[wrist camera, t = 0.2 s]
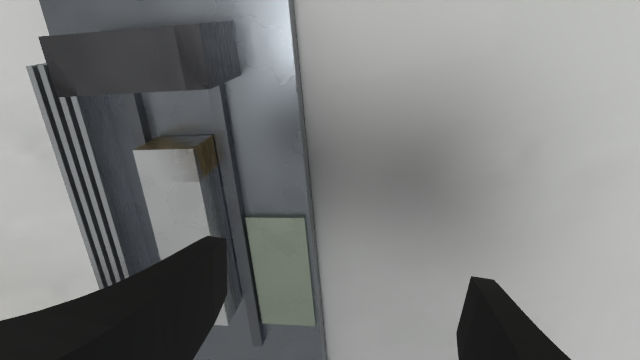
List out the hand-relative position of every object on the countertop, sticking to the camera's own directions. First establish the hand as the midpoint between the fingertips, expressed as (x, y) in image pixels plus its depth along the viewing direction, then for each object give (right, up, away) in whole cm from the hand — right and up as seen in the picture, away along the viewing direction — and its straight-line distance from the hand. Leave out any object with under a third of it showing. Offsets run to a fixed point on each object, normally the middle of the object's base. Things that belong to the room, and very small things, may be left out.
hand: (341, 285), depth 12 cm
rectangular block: (-7, +1, +11) cm, 13 cm away
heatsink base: (-7, +1, +12) cm, 14 cm away
